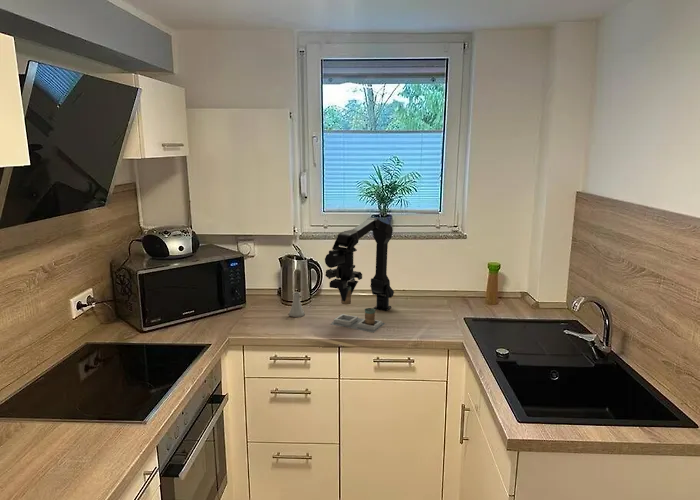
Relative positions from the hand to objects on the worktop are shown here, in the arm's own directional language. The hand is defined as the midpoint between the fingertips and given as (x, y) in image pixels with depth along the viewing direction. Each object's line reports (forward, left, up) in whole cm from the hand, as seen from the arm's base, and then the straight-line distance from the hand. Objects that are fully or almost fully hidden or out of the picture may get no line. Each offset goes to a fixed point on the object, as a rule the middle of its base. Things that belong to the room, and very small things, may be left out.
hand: (346, 299), depth 211 cm
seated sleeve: (0, +11, -10) cm, 15 cm away
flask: (0, -25, -11) cm, 27 cm away
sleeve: (0, 0, -2) cm, 2 cm away
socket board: (0, +5, -11) cm, 12 cm away
